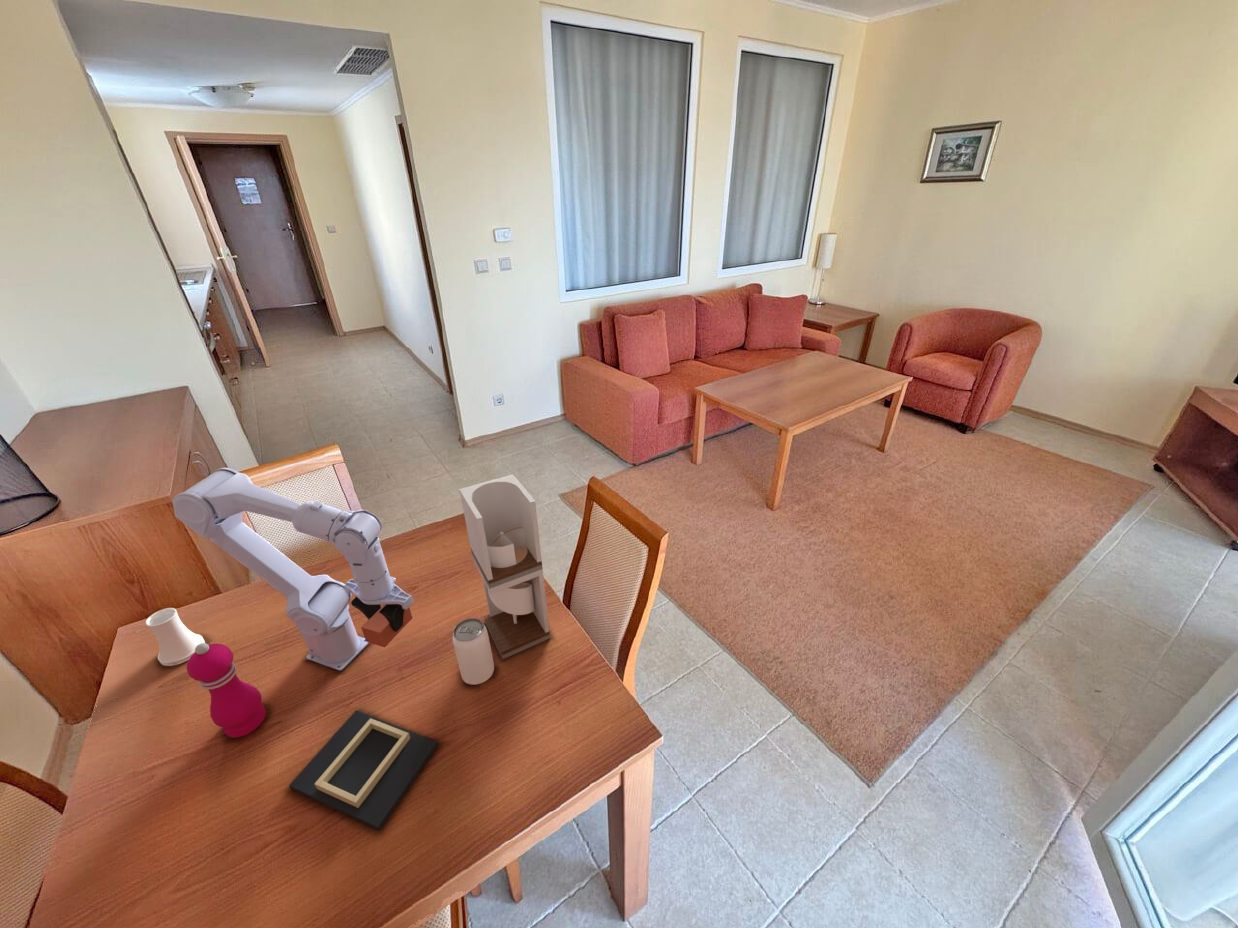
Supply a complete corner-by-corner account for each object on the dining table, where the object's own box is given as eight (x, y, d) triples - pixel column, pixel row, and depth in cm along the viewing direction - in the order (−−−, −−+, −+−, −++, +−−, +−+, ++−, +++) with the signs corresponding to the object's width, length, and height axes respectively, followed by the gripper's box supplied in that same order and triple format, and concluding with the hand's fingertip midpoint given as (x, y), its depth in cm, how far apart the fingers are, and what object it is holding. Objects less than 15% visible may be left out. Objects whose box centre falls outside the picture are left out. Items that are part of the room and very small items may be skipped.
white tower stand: (485, 623, 110) (459, 489, 93) (530, 604, 115) (513, 474, 98) (502, 659, 101) (477, 518, 85) (550, 637, 106) (535, 501, 89)
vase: (160, 672, 100) (136, 637, 95) (159, 649, 105) (136, 615, 100) (206, 652, 104) (186, 617, 99) (203, 631, 109) (183, 597, 104)
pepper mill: (278, 710, 92) (237, 633, 82) (241, 746, 86) (192, 668, 76) (250, 698, 94) (206, 623, 84) (212, 733, 88) (160, 656, 78)
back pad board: (290, 788, 80) (285, 780, 79) (357, 713, 91) (353, 704, 90) (379, 830, 74) (375, 822, 73) (438, 744, 86) (436, 735, 85)
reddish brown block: (366, 641, 97) (360, 627, 95) (394, 612, 104) (390, 598, 102) (385, 647, 96) (379, 632, 94) (412, 617, 102) (408, 603, 100)
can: (486, 688, 95) (476, 645, 90) (455, 683, 97) (444, 639, 91) (499, 661, 101) (491, 618, 95) (470, 656, 102) (460, 613, 96)
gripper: (417, 566, 94) (431, 618, 100) (356, 551, 98) (374, 602, 104) (391, 592, 88) (407, 645, 94) (327, 574, 92) (347, 627, 98)
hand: (388, 624), depth 99 cm, fingers closed on reddish brown block, 4 cm apart
